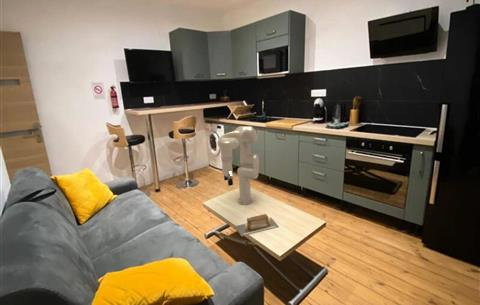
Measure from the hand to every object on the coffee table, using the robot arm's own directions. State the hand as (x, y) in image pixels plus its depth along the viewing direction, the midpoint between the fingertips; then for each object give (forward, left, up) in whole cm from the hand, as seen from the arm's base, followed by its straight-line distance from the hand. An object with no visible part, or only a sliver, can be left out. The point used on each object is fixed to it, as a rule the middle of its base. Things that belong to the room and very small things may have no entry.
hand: (228, 182), depth 163 cm
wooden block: (+12, +16, -32) cm, 38 cm away
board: (+10, +16, -33) cm, 38 cm away
